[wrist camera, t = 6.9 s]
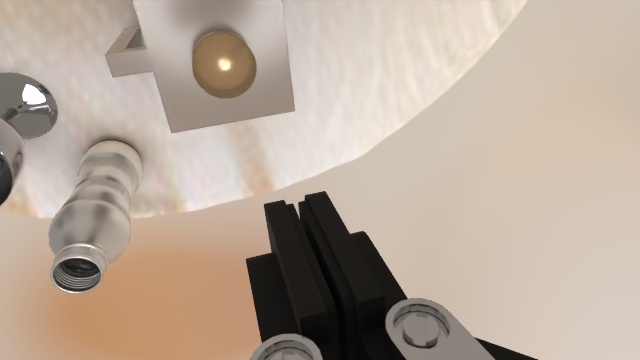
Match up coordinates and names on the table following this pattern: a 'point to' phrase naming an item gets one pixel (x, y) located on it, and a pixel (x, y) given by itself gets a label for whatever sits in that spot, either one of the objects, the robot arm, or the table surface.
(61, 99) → the table surface
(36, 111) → the wine glass
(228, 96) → the plunger
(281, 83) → the press pot
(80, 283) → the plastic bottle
